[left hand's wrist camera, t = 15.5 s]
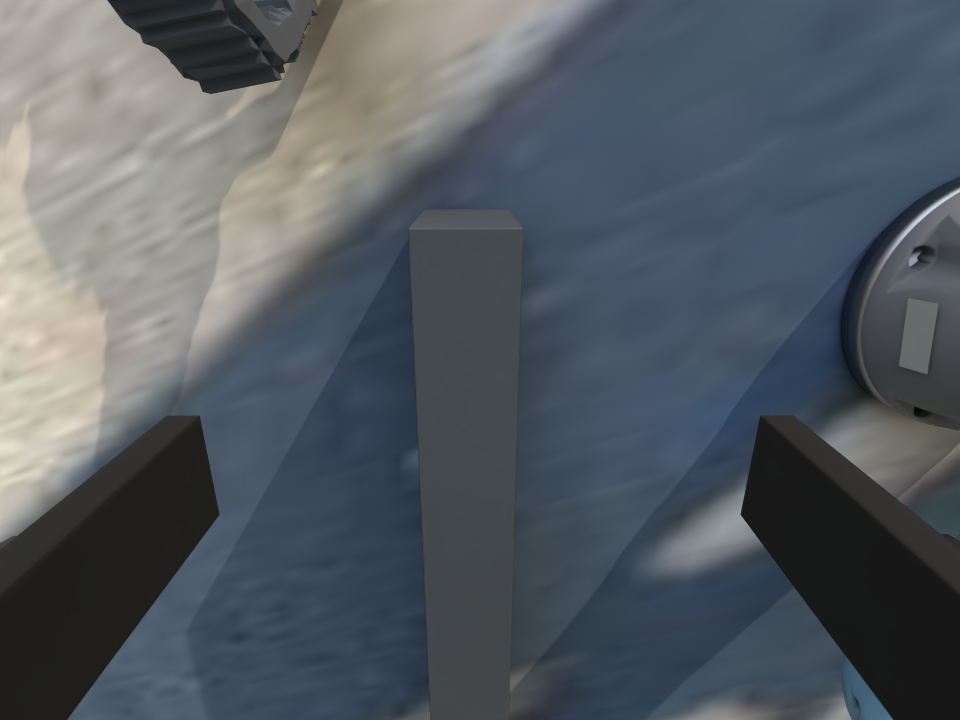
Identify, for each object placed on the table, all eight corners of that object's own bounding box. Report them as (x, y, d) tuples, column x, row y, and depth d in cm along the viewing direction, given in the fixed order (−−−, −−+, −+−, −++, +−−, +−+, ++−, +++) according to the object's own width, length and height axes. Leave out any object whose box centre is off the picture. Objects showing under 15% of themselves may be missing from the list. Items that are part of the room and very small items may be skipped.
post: (423, 209, 30) (407, 228, 22) (508, 209, 30) (523, 227, 22) (447, 879, 52) (443, 1006, 44) (495, 878, 52) (500, 1004, 45)
